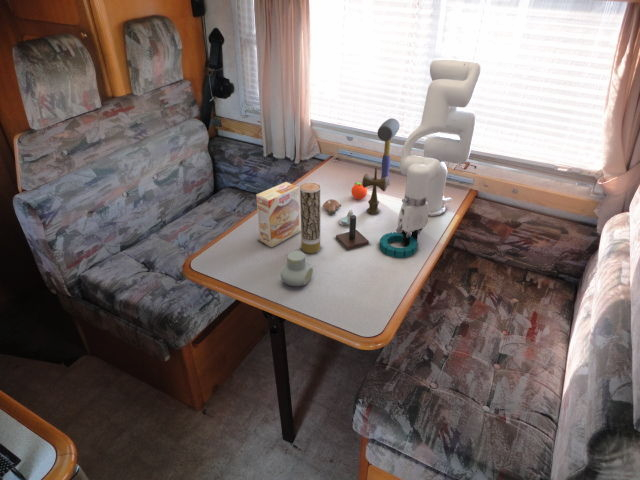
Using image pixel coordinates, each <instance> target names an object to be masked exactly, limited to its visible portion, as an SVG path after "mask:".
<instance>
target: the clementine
mask: <svg viewBox="0 0 640 480" xmlns="http://www.w3.org/2000/svg"><path fill="white" fill-rule="evenodd" d="M350 192H351V196H352V197H353V198H354V199H356V200H363V199H365V197H367V194H368V187H365V188H364V187H363V185H362V183H360V182H355V183H354V185H352V188H351V191H350Z"/></svg>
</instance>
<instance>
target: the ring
mask: <svg viewBox="0 0 640 480" xmlns="http://www.w3.org/2000/svg"><path fill="white" fill-rule="evenodd" d="M409 237H410V242H409V245H408V246H404V247H397V246H394V245H391V244H390V243H394V242H395V243H396V242H397V243H402V244H403V234H400V233H398V232H396V231H394V232H387V233H384V234H383V235H382V236H381V237H380V238H379V249H380V251H381V252H382V253H383V254H385V255H386V256H389V257H392V258H397V259H404V258H406V259H407V258H409V257H412V256H413V255H415V253H416V252H417V250H418V240H416V239H415V238H413V237H412V236H411V234H409Z"/></svg>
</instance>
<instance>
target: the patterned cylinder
mask: <svg viewBox="0 0 640 480" xmlns="http://www.w3.org/2000/svg"><path fill="white" fill-rule="evenodd" d="M299 206H300V239H301V240H300V241H301V250H302V252H303V253H305V254H316V253H318V252H319V251H320V250H321V185H320V184H318V183H316V182H304V183H302V184H300V186H299Z"/></svg>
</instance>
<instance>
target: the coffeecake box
mask: <svg viewBox="0 0 640 480" xmlns="http://www.w3.org/2000/svg"><path fill="white" fill-rule="evenodd" d="M255 196H256V197H255V199H256V210H257V221H258V223H257V225H258V235H259V236H258V237H259V241H260V242H261V243H263V244H265V245H267V246H268V247H270V248H273V247H275V246H277V245H279V244H281V243H282V242H284V241H286V240H287V239H290V238H291V237H294V236H295V235H297V234H299V233H300V192H299V186H297V185H295V184H292V183H291V182H288V181H285V182H282V183H280V184H277V185H275V186H273V187H270V188H269V189H266V190H263V191H261V192H259V193H256V194H255Z"/></svg>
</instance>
